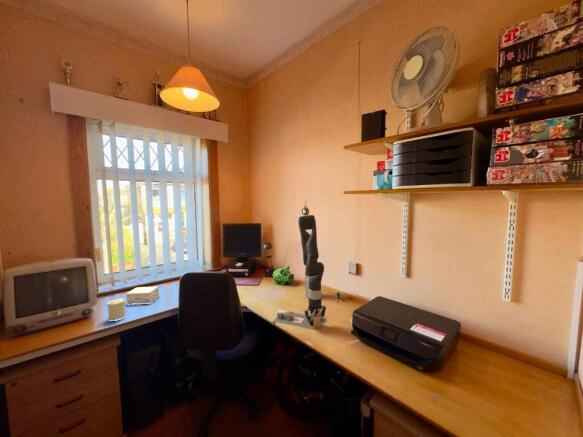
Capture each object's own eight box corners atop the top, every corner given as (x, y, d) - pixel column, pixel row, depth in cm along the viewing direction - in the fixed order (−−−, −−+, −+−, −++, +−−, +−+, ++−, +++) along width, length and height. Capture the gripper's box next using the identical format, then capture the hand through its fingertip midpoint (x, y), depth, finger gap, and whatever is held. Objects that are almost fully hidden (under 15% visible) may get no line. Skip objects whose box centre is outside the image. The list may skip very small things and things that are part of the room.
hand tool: (357, 338, 130) (358, 330, 129) (350, 336, 132) (350, 328, 132) (368, 323, 145) (368, 316, 145) (361, 321, 148) (361, 314, 147)
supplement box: (159, 297, 190) (158, 286, 189) (150, 304, 177) (150, 292, 176) (137, 298, 189) (136, 286, 188) (127, 305, 176) (126, 293, 175)
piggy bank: (286, 287, 206) (286, 270, 205) (269, 284, 216) (269, 267, 215) (295, 282, 218) (295, 266, 217) (279, 279, 228) (278, 264, 227)
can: (105, 320, 154) (103, 302, 153) (119, 314, 162) (118, 297, 161) (114, 323, 150) (113, 304, 149) (129, 316, 159) (128, 298, 158)
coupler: (310, 325, 141) (310, 312, 141) (316, 323, 143) (316, 311, 143) (313, 329, 137) (313, 316, 137) (320, 327, 139) (320, 314, 139)
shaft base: (283, 311, 162) (283, 303, 161) (327, 319, 150) (327, 310, 150) (272, 323, 147) (272, 314, 146) (320, 332, 136) (320, 322, 135)
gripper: (322, 292, 145) (322, 319, 146) (301, 296, 140) (301, 324, 141) (329, 296, 138) (329, 325, 140) (306, 301, 133) (307, 330, 134)
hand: (315, 324), depth 140 cm, fingers closed on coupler, 4 cm apart
